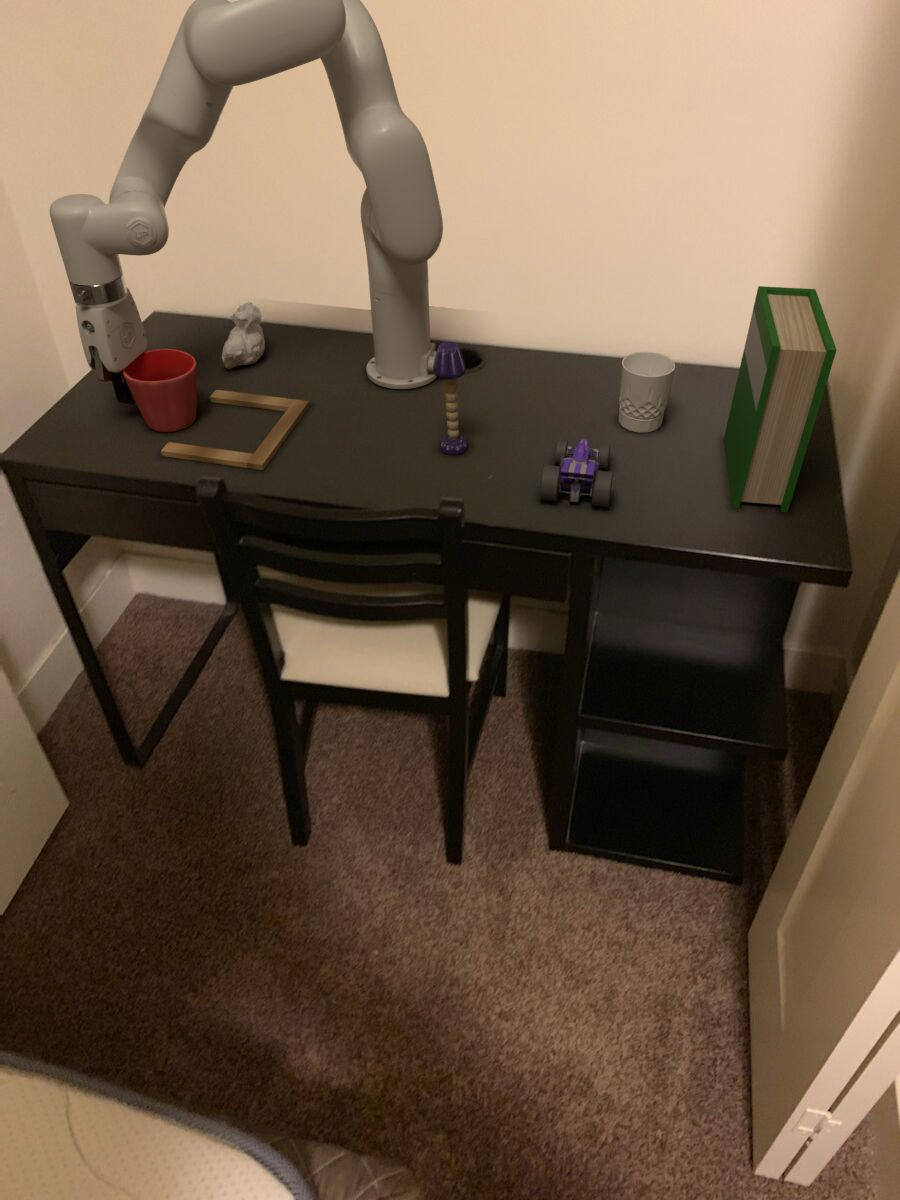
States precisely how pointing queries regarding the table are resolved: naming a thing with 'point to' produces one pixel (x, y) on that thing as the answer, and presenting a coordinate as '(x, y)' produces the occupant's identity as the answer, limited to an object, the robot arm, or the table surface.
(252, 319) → the bust
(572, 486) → the toy race car
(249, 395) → the frame
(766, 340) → the hardback book
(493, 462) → the table surface
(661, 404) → the white cup
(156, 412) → the flower pot
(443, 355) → the toy lamp
